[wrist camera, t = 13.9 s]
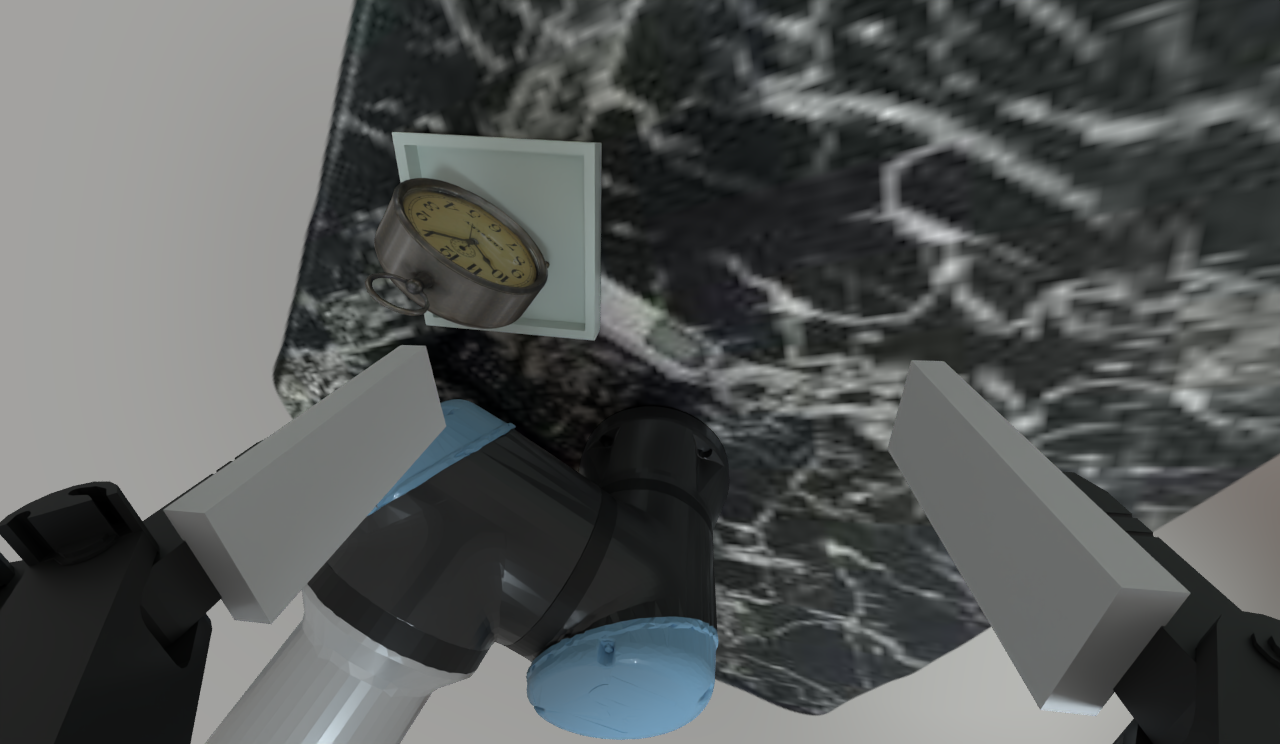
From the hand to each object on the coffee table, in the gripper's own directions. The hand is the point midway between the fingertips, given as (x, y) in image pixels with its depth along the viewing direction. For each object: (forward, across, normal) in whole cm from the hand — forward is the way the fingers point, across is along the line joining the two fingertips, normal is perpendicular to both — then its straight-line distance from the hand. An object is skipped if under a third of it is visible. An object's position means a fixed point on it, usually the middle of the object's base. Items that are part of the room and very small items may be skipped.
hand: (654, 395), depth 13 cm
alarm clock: (+26, +15, +1) cm, 31 cm away
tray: (+27, +15, +1) cm, 31 cm away
